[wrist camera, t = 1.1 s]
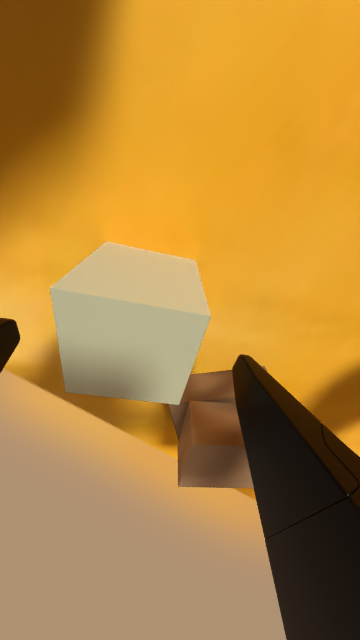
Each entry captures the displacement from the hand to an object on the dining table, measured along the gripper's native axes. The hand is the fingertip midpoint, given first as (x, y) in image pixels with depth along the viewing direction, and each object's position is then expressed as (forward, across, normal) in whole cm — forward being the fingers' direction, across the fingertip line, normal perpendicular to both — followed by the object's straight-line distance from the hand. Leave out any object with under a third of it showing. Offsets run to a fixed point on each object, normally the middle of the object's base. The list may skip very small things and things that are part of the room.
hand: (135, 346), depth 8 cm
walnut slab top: (+3, -8, +10) cm, 13 cm away
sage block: (+5, 0, 0) cm, 5 cm away
